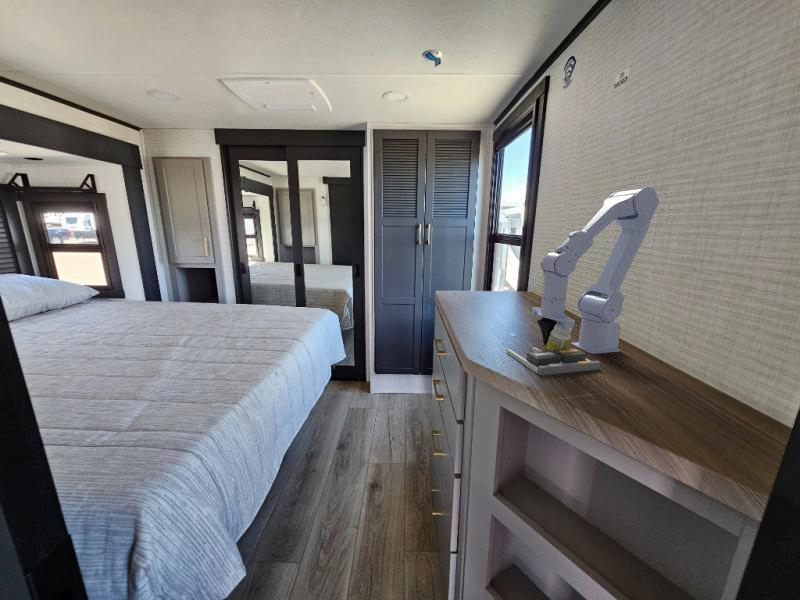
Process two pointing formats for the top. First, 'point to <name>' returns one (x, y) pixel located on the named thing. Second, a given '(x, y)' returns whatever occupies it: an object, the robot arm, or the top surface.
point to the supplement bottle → (558, 338)
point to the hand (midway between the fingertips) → (548, 345)
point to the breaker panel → (556, 365)
